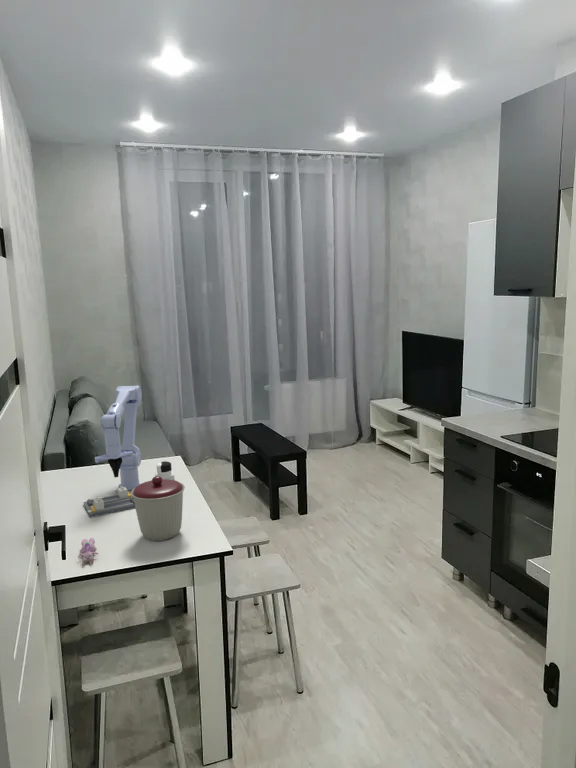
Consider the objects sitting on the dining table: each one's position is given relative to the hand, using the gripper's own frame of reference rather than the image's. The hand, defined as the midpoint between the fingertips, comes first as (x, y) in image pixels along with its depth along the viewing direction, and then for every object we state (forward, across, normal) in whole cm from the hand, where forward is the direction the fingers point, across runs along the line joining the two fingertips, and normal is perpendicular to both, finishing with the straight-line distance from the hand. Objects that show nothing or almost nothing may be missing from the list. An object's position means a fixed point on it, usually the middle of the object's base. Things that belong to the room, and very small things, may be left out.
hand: (116, 476), depth 236 cm
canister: (+10, +7, -41) cm, 43 cm away
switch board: (+10, -3, -4) cm, 11 cm away
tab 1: (+9, -9, -8) cm, 15 cm away
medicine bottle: (+11, +20, +2) cm, 23 cm away
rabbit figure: (+10, -18, -45) cm, 49 cm away
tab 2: (+9, +2, 0) cm, 9 cm away
